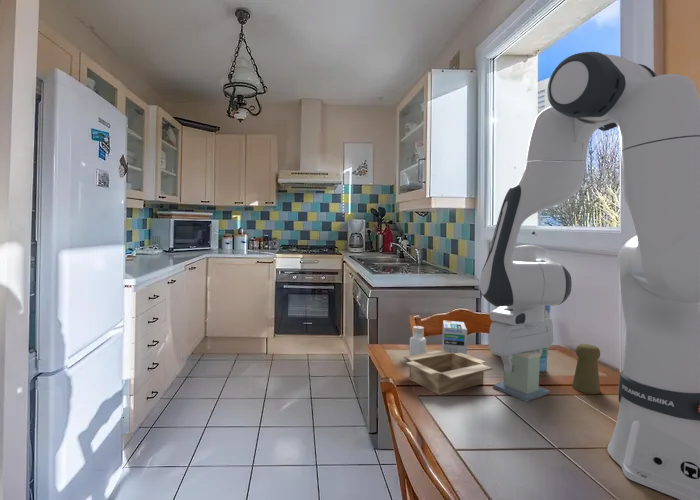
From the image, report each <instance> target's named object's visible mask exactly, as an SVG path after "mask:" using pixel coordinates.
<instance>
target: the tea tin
mask: <svg viewBox="0 0 700 500" xmlns="http://www.w3.org/2000/svg"><path fill="white" fill-rule="evenodd" d="M540 356H541V353H539V352H536V351H528V352H523V353H518V354H514V355H512V359H511V362H512V365H515V366H514V372H512V373H507V372H505V371H503V382H504V385H506V386H508V387H511V388H513V389H516V390H518V391H521V392H523V393H526V394H529V393H532V392H535V391H538V389H539V387H540V385H539V383H540V372H539V367H540Z"/></svg>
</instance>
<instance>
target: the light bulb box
mask: <svg viewBox="0 0 700 500" xmlns="http://www.w3.org/2000/svg"><path fill="white" fill-rule="evenodd" d="M441 347H442V349H441V350H445V351H448V352H450V353H451V352H452V353H459V352H460V353H463V354H466V355H467V348H468V328H467V327H466V323H465V322H464V321H455V320H454V321H453V320H443V321H442V346H441Z"/></svg>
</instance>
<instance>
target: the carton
mask: <svg viewBox="0 0 700 500" xmlns="http://www.w3.org/2000/svg"><path fill="white" fill-rule="evenodd" d="M403 359H406V360H408V361H406V362H405V363H406V365H408V366H409V380H410V381H411V382H413V381H414V382H413V383H415V382H416V384H417V383H418V385H420V386H421V387H424V388H425V389H427V390H429V391H431V392H433V393H436V394H437V395H439V396H440V395H444V394H448V393H451V392H456V391H459V390H464V389H468V388H472V387H475V386H478V385H482V384H484V375H485V372H486V371H490V370H493V367H491V366H488V365H485V364H486V363H487V361H485V360H482V359H479V358H477V357H475V356H472V355H469V354H467V353H466V354H463V353H460V352H459V353H452V352H451V353H450V352H448V351H445V350H442V349H440V350H435V351H428V352H426V353H422V354H416V355H411V356H409V355H407V356H406V355H405V356H403Z"/></svg>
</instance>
